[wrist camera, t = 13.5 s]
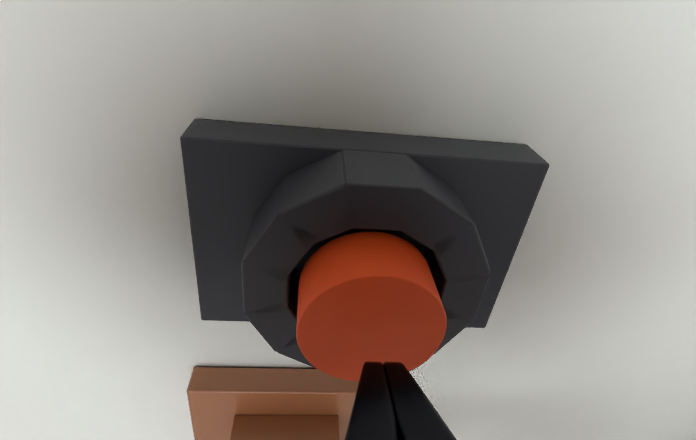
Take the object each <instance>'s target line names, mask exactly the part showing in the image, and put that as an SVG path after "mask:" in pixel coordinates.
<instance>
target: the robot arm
mask: <svg viewBox="0 0 696 440" xmlns="http://www.w3.org/2000/svg"><path fill="white" fill-rule="evenodd" d="M344 440H457V439H456V438H455V437H454V435H453V434H452V432H451V431H450V430H449V428H448V427H447V425H446V424H445V422H444V421H443V420H442V418H441V417H440V415H439V414H438V412H437V411H436V410H435V408H434V407H433V405H432V404H431V402H430V401H429V400H428V398H427V397H426V395H425V394H424V392H423V391H422V390H421V388H420V387H419V385H418V384H417V383H416V381H415V380H414V378H413V377H412V375H411V374H410V373H409V371H408V370H407V368H406V367H405V365H404V364H403V363H401V362H384V363H383V364H382V363H381V362H372V361H366V362H364V364H363V368H362V372H361V376H360V380H359V384H358V388H357V392H356V395H355V399H354V403H353V407H352V411H351V415H350V419H349V423H348V427H347V431H346V435H345V439H344Z"/></svg>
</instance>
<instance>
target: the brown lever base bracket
mask: <svg viewBox="0 0 696 440" xmlns="http://www.w3.org/2000/svg"><path fill="white" fill-rule="evenodd" d="M358 384H359V381H350V380H344V379H340V378H336V377H333V376H330V375H328V374H326V373H324V372H322V371H320V370H319V369H288V368H222V367H194V369H193V372H192V375H191V379H190V382H189V385H188V389H187V395H188V401H189V408H190V414H191V420H192V426H193V432H194V438H195V440H344V439H345V435H346V431H347V427H348V423H349V419H350V415H351V411H352V407H353V403H354V399H355V395H356V392H357V388H358Z"/></svg>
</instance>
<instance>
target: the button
mask: <svg viewBox="0 0 696 440" xmlns="http://www.w3.org/2000/svg"><path fill="white" fill-rule="evenodd" d="M446 326H447V319H446V313H445V310H444V307H443V304H442V301H441V299H440V296H439V293H438V290H437V288H436V285H435V282H434V280H433V277H432V274H431V271H430V269H429V266H428V263H427V261H426V259H425V257H424V256H423V255H422V253H421V252H420V251H419V250H418V249H417V248H416V247H415V246H414V245H412V244H411V243H409V242H408V241H406V240H404V239H402V238H400V237H398V236H395V235H392V234H388V233H384V232H375V231H364V232H355V233H351V234H346V235H343V236H340V237H338V238H335V239H333V240H331V241H329V242H328V243H326V244H324V245H323V246H321V247H320V248H319V249H318V250H317V251H315V252H314V253H313V255H312V256H311V257H310V258H309V259H308V261H307V262H306V263H305V265H304V267H303V269H302V272H301V275H300V279H299V290H298V307H297V324H296V338H297V342H298V346H299V348H300V350H301V352H302V354H303V355H304V357H305V358H306V359H307V360H308V361H309V362H310V363H311V364H312V365H313V366H314V367H316V368H317V369H319V370H320V371H322V372H324V373H326V374H328V375H330V376H333V377H336V378H340V379H344V380H350V381H359V380H360V376H361V372H362V368H363V364H364V362H366V361H372V362H381V363H382V364H383V363H384V362H401V363H403V364H404V365H405V367H406V368H407V370H408V371H411V370H413V369H415V368H417V367H418V366H420V365H421V364H423V363H424V362H425V361H427V360H428V359H429V358H430V357H431V356H432V355H433V354H434V353H435V351H436V350H437V349H438V348H439V346H440V344H441V343H442V341H443V338H444V336H445V332H446Z"/></svg>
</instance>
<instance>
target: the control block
mask: <svg viewBox="0 0 696 440" xmlns="http://www.w3.org/2000/svg"><path fill="white" fill-rule="evenodd" d="M180 140H181V149H182V157H183V166H184V174H185V183H186V191H187V200H188V208H189V217H190V225H191V234H192V242H193V251H194V259H195V268H196V276H197V285H198V293H199V302H200V310H201V319H202V320H218V321H250V322H251V323H252V324H253V326H254V327H255V328H256V329H257V330H258V332H259V333H260V334H261V335H262V336H263V338H264V339H265V340H266V341H267V342H268V344H269V345H270V346H271V347H272V348H273V350H274V351H277V352H278V353H280V354H283V355H285V356H287V357H290V358H292V359H295V360H297V361H300V362H302V363H305V364H307V365H310V366H312V367H314V366H313V365H312V364H311V363H310V362H309V361H308V360H307V359H306V358H305V357H304V355H303V354H302V352H301V350H300V348H299V346H298V342H297V338H296V324H297V307H298V290H299V279H300V275H301V272H302V269H303V267H304V265H305V263H306V262H307V261H308V259H309V258H310V257H311V256H312V255H313V253H314V252H315V251H317V250H318V249H319V248H320V247H321V246H323V245H324V244H326V243H328V242H329V241H331V240H333V239H335V238H338V237H340V236H343V235H346V234H351V233H355V232H364V231H375V232H384V233H388V234H392V235H395V236H398V237H400V238H402V239H404V240H406V241H408V242H409V243H411V244H412V245H414V246H415V247H416V248H417V249H418V250H419V251H420V252H421V253H422V255H423V256H424V257H425V259H426V261H427V263H428V266H429V269H430V271H431V274H432V277H433V280H434V282H435V285H436V288H437V290H438V293H439V296H440V299H441V301H442V304H443V307H444V310H445V313H446V319H447V326H446V332H445V336H444V338H443V341H442V343H441V344H440V346H439V348H438V349H437V350H436V351H435V353H436V352H437V351H438V350H439V349H441V348H442V347H443V346H444V345H445V344H447V343H448V342H449V341H450V340H451V339H452V338H454V337H455V336H456V335H457V334H458V333H459V332H461V331H462V330H463V329H464V328H465V327H475V328H485V326H486V324H487V321H488V319H489V316H490V314H491V311H492V309H493V306H494V304H495V301H496V299H497V296H498V294H499V291H500V289H501V286H502V284H503V281H504V279H505V276H506V273H507V271H508V268H509V266H510V263H511V261H512V258H513V256H514V253H515V251H516V248H517V246H518V243H519V241H520V238H521V236H522V233H523V231H524V228H525V226H526V223H527V221H528V218H529V215H530V213H531V210H532V208H533V205H534V203H535V200H536V198H537V195H538V193H539V190H540V188H541V185H542V183H543V180H544V178H545V175H546V173H547V170H548V168H549V164H548V163H547V162H546V161H545V160H544V159H543V158H541V157H540V156H539V155H538V154H537V153H536V152H535V151H533V150H532V149H531V148H530V147H529V146H528V145H523V144H510V143H498V142H485V141H472V140H460V139H447V138H434V137H422V136H409V135H396V134H384V133H371V132H358V131H346V130H333V129H320V128H308V127H295V126H283V125H270V124H257V123H245V122H232V121H219V120H207V119H194V121H193V122H192V123H191V124H190V126H189V127H188V128H187V129H186V131H185V132H184V133H183V135H182V136H181V138H180ZM435 353H434V354H435ZM314 368H316V367H314Z"/></svg>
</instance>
